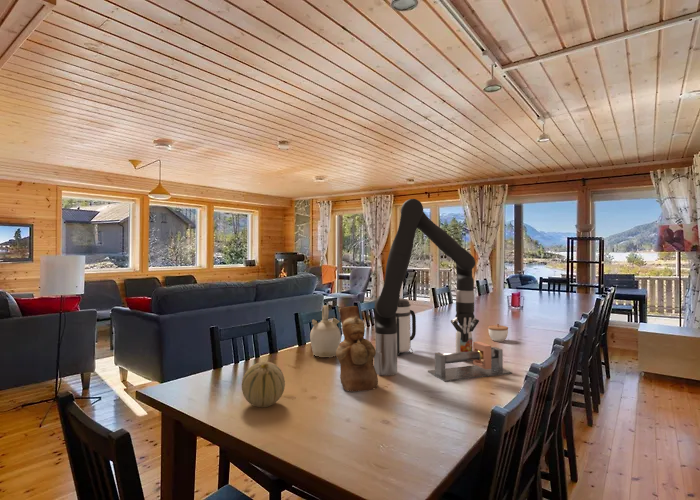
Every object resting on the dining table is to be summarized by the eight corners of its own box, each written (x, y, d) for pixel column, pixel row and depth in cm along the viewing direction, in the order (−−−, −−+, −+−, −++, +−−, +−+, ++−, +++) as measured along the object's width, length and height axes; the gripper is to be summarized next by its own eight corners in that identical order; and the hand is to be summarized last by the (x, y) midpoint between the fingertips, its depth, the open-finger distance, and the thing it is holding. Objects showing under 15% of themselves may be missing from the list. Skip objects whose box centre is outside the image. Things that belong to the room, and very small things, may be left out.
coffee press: (414, 357, 202) (413, 295, 202) (381, 355, 205) (381, 295, 205) (416, 348, 219) (415, 291, 219) (385, 347, 222) (385, 291, 222)
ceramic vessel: (343, 395, 151) (342, 312, 151) (330, 377, 172) (329, 304, 172) (384, 390, 155) (383, 310, 155) (366, 373, 176) (365, 303, 176)
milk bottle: (454, 360, 196) (453, 318, 196) (457, 356, 203) (457, 315, 203) (470, 362, 192) (470, 319, 192) (474, 358, 199) (473, 316, 199)
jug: (342, 351, 215) (341, 303, 215) (338, 359, 200) (338, 307, 200) (313, 350, 217) (312, 302, 217) (307, 358, 201) (306, 307, 201)
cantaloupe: (266, 394, 152) (266, 353, 152) (294, 403, 143) (293, 360, 143) (232, 406, 141) (231, 362, 141) (259, 417, 131) (259, 370, 131)
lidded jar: (484, 339, 239) (484, 323, 239) (498, 337, 244) (498, 321, 244) (498, 343, 230) (497, 326, 230) (512, 341, 234) (512, 324, 234)
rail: (444, 381, 165) (444, 358, 165) (427, 371, 178) (427, 350, 178) (511, 373, 175) (511, 351, 175) (490, 364, 188) (490, 344, 188)
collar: (485, 369, 174) (485, 346, 174) (473, 364, 182) (473, 342, 182) (491, 368, 175) (491, 345, 175) (479, 363, 183) (479, 341, 183)
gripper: (456, 302, 170) (455, 344, 170) (483, 301, 174) (483, 342, 174) (446, 300, 177) (446, 340, 177) (473, 299, 181) (472, 339, 181)
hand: (464, 341), depth 176 cm, fingers closed
